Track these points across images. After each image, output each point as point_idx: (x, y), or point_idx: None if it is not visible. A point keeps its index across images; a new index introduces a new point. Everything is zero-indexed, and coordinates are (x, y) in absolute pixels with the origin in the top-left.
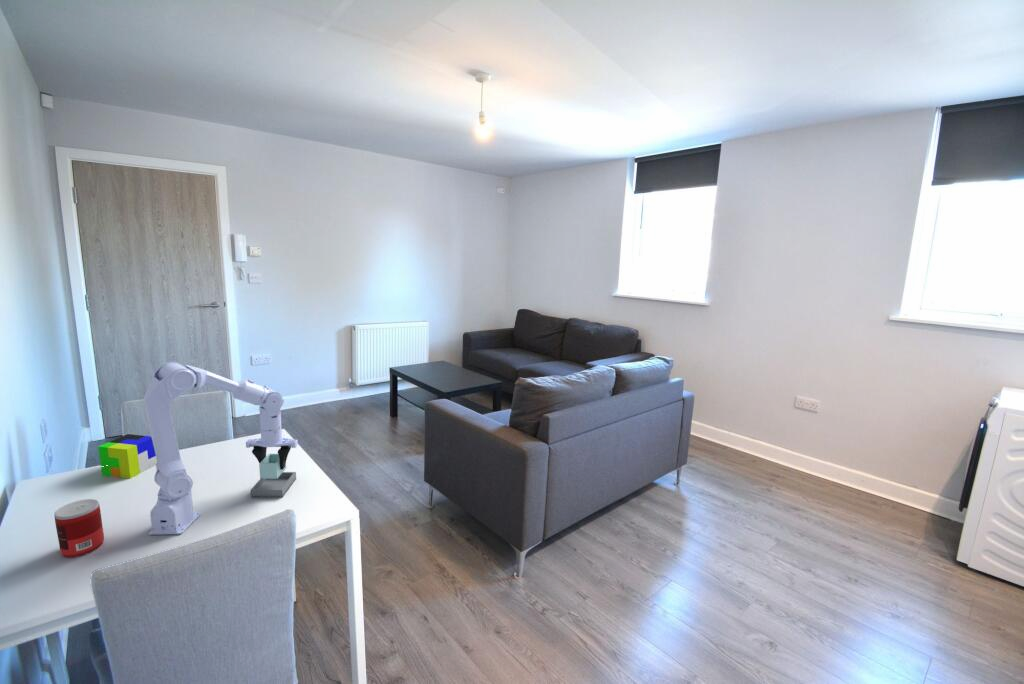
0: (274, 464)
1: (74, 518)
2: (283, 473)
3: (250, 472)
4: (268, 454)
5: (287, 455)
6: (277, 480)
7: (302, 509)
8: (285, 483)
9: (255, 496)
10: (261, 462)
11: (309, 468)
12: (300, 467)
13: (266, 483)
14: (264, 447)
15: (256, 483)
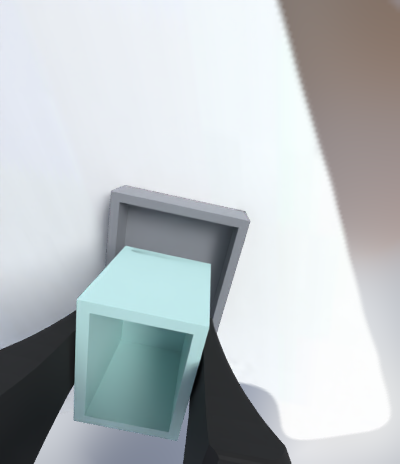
0: (166, 432)
1: None
2: (193, 217)
3: (28, 98)
4: (79, 314)
5: (232, 377)
6: (173, 225)
7: (273, 391)
8: (216, 310)
9: None
10: (80, 410)
11: (302, 111)
12: (257, 88)
13: (136, 241)
14: (2, 443)
15: None
